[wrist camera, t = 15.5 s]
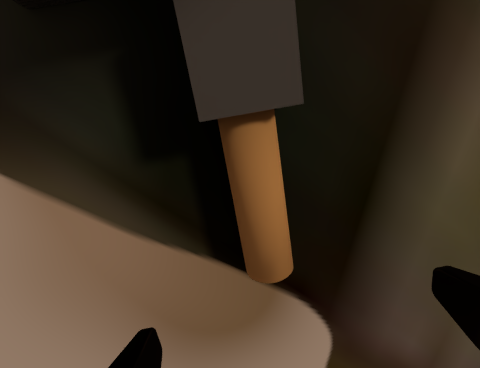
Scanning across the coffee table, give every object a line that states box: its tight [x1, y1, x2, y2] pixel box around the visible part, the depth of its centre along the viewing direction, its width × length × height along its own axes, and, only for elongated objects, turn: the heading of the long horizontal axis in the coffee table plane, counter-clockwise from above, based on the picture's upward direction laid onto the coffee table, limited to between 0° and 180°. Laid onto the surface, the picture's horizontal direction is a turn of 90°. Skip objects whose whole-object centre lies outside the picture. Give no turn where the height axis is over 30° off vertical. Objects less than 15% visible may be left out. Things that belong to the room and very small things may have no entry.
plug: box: [173, 0, 304, 283], centre depth 12 cm, size 14×4×4 cm, turn 10°
